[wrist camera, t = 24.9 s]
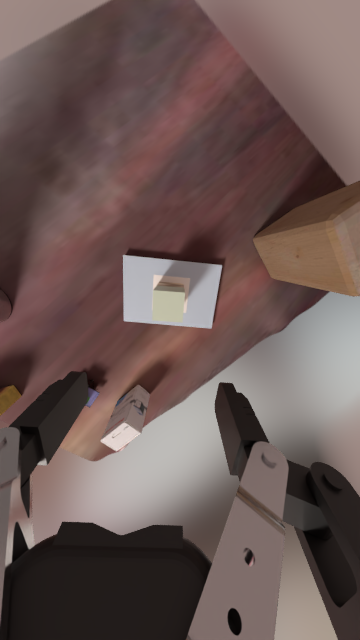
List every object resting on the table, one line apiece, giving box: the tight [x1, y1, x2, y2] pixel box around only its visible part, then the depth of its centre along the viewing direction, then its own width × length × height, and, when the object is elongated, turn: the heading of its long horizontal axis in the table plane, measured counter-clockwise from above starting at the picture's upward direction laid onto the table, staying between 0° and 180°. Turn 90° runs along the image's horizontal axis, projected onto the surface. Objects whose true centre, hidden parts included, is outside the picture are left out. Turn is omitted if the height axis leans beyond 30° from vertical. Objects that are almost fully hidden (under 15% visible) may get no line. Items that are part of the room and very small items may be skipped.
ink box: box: [101, 385, 150, 451], centre depth 43 cm, size 9×5×12 cm, turn 132°
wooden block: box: [253, 181, 360, 296], centre depth 27 cm, size 10×10×20 cm
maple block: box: [157, 281, 184, 287], centre depth 35 cm, size 5×5×5 cm
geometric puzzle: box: [85, 380, 100, 408], centre depth 44 cm, size 7×7×8 cm
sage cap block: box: [152, 285, 185, 323], centre depth 30 cm, size 5×5×5 cm
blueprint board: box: [123, 255, 222, 328], centre depth 38 cm, size 20×14×2 cm
